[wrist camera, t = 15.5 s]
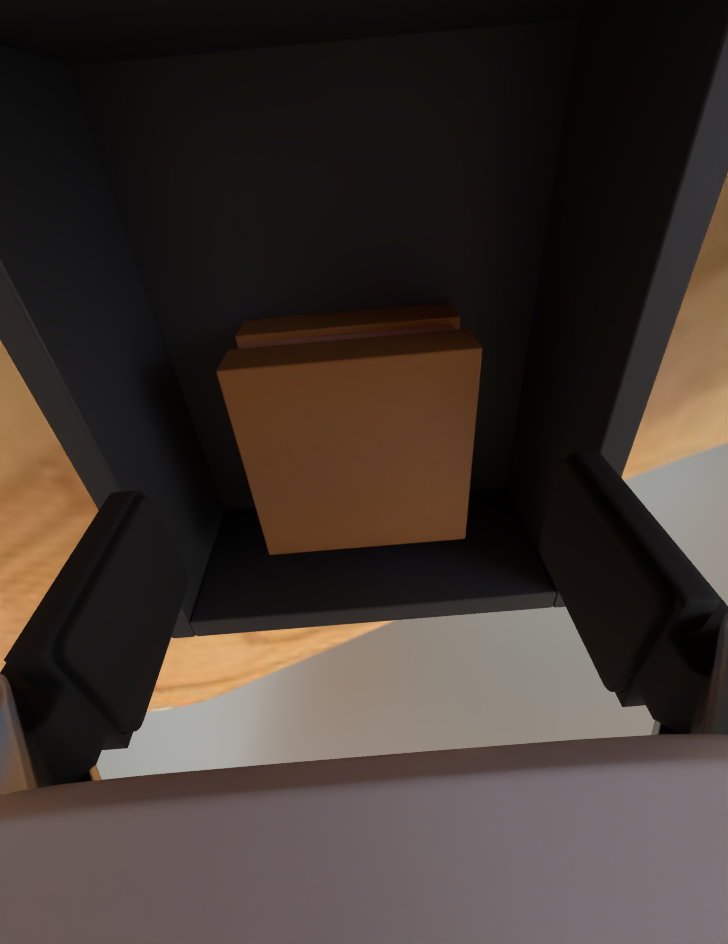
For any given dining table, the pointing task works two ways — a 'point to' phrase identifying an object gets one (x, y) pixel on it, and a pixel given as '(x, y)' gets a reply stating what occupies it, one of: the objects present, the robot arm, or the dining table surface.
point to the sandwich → (355, 425)
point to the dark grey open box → (351, 249)
